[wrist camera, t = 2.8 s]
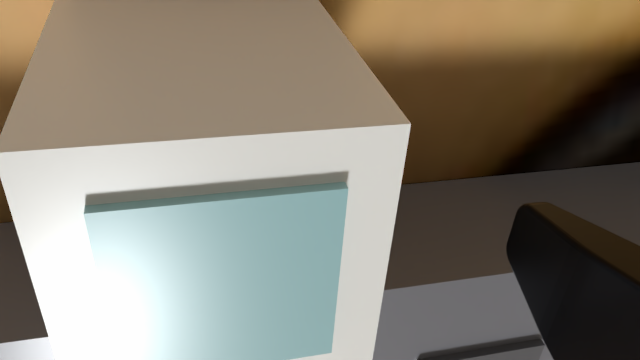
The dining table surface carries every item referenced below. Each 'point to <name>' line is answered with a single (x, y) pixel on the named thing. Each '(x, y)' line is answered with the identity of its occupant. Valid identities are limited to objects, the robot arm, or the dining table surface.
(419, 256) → the power strip
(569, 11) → the dining table surface
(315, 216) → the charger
